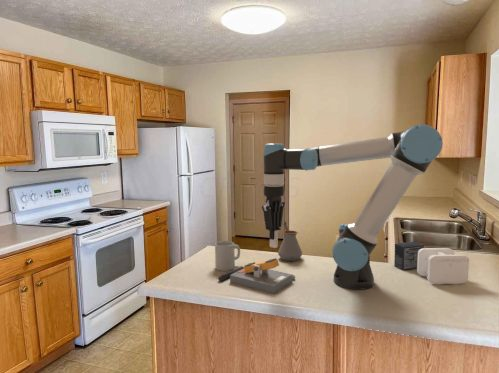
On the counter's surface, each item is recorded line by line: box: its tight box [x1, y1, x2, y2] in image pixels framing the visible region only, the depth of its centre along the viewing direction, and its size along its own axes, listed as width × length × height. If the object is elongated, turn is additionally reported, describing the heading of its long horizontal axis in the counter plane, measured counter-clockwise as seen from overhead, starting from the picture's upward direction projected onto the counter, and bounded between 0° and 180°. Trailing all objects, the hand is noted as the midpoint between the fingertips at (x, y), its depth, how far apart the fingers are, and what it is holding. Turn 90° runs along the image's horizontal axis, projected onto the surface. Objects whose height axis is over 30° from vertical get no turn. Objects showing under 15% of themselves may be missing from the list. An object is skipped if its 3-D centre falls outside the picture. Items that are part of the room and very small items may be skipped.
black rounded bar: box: [217, 265, 244, 282], centre depth 150 cm, size 2×16×2 cm, turn 145°
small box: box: [393, 241, 425, 272], centre depth 158 cm, size 11×6×10 cm, turn 106°
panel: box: [229, 260, 293, 295], centre depth 142 cm, size 20×14×8 cm
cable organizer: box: [416, 247, 470, 286], centre depth 142 cm, size 15×11×12 cm
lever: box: [243, 257, 280, 273], centre depth 142 cm, size 14×4×3 cm, turn 55°
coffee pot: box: [277, 220, 303, 262], centre depth 176 cm, size 21×12×15 cm, turn 4°
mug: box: [214, 240, 241, 272], centre depth 161 cm, size 12×8×11 cm
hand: (273, 246), depth 138 cm, fingers closed
